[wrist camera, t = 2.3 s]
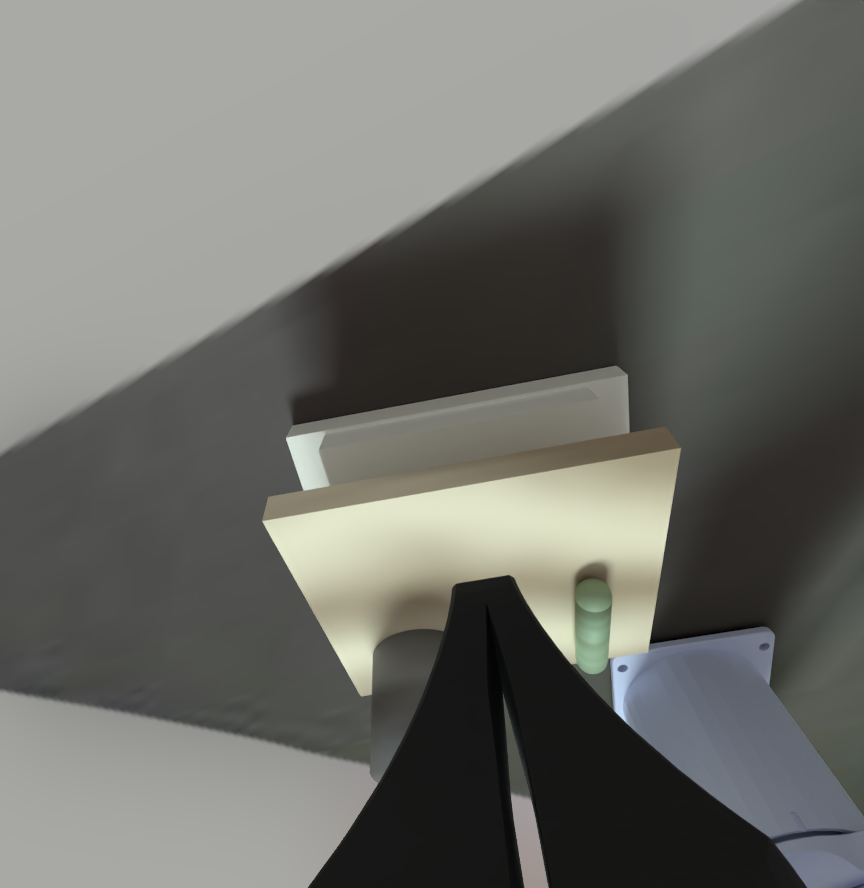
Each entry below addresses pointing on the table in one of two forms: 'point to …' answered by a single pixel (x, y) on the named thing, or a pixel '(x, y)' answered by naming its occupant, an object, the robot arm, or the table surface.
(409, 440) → the stand
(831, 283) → the table surface
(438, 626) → the plate
